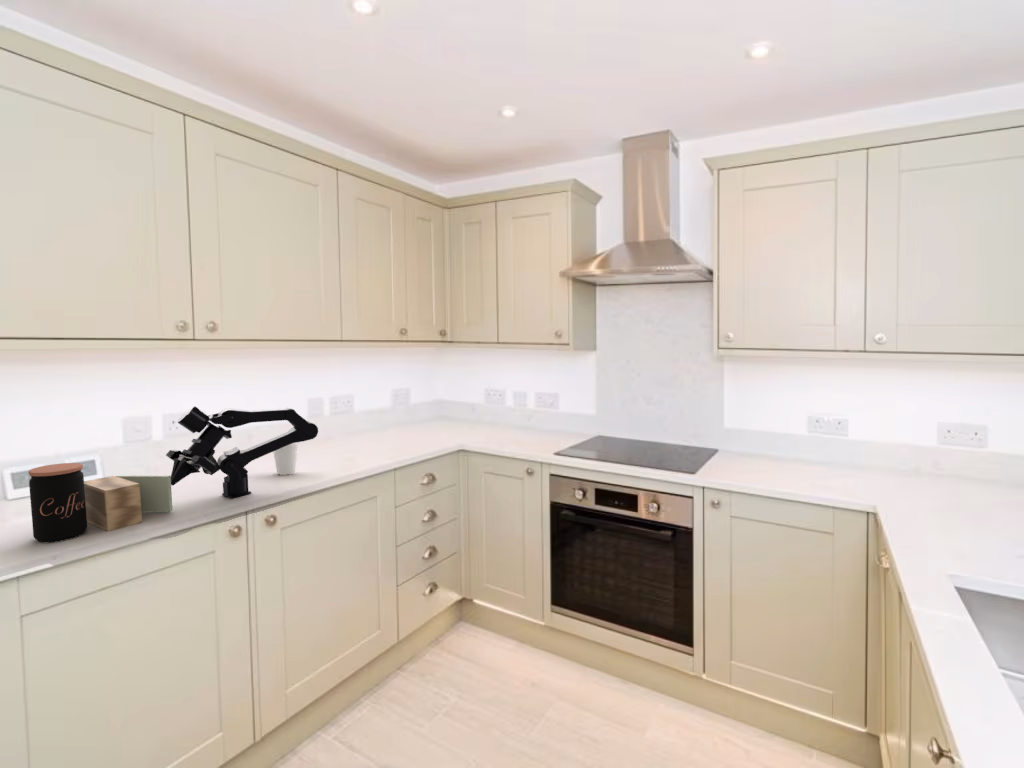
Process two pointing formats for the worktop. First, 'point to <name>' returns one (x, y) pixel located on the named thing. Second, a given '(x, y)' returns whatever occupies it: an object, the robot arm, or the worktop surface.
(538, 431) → the worktop surface
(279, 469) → the foam cup
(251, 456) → the robot arm
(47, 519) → the coffee jar
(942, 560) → the worktop surface
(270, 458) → the worktop surface
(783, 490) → the worktop surface
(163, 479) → the door
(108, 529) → the cabinet
